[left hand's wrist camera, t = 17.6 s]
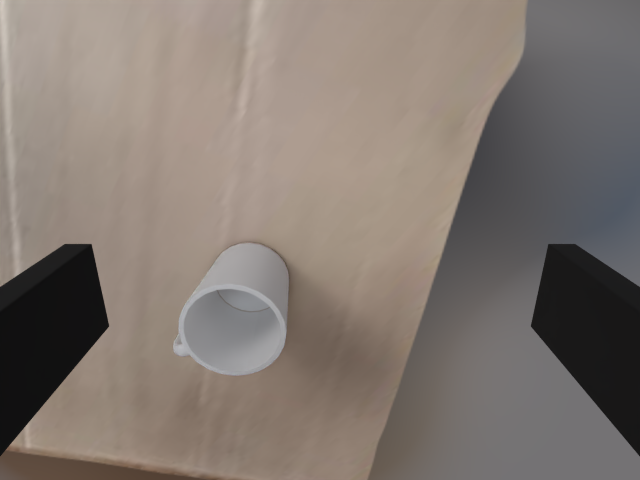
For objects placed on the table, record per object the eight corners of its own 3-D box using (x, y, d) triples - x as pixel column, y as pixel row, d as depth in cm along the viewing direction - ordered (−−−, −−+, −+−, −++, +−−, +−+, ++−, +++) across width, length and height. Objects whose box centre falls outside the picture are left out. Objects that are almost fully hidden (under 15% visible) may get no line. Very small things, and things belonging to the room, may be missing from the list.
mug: (266, 222, 42) (250, 265, 33) (308, 292, 45) (305, 350, 36) (175, 268, 44) (135, 322, 35) (221, 332, 47) (196, 398, 37)
